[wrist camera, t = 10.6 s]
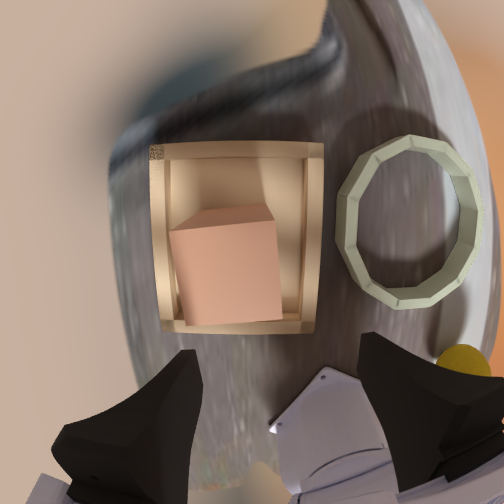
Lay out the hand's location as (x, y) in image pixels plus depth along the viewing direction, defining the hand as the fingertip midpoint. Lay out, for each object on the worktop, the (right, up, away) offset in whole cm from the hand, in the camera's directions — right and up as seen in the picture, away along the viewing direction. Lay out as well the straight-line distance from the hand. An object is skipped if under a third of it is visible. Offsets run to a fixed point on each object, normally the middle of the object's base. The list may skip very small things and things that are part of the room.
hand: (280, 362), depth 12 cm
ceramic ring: (+11, +7, +9) cm, 16 cm away
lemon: (+19, -6, +12) cm, 23 cm away
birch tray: (-2, +6, +9) cm, 11 cm away
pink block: (-2, +6, +8) cm, 10 cm away
